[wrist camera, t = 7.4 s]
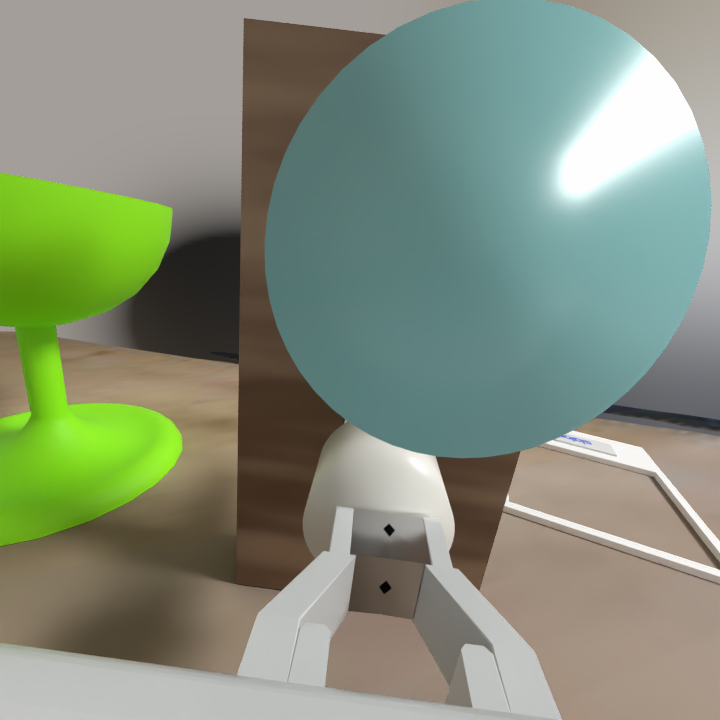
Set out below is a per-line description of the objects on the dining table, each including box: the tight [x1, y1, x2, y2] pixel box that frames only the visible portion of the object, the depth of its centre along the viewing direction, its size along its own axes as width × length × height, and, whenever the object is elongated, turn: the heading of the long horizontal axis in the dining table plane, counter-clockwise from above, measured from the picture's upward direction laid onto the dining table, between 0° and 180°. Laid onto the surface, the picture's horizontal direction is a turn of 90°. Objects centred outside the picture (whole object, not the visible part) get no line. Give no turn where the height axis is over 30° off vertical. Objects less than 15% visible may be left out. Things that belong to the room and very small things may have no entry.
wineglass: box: [0, 173, 182, 546], centre depth 22 cm, size 16×16×18 cm
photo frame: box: [503, 431, 720, 584], centre depth 31 cm, size 15×1×18 cm
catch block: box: [236, 18, 520, 591], centre depth 15 cm, size 3×12×23 cm, turn 87°
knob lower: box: [303, 422, 455, 558], centre depth 16 cm, size 13×4×4 cm, turn 177°
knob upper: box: [264, 0, 711, 458], centre depth 10 cm, size 13×4×4 cm, turn 177°
